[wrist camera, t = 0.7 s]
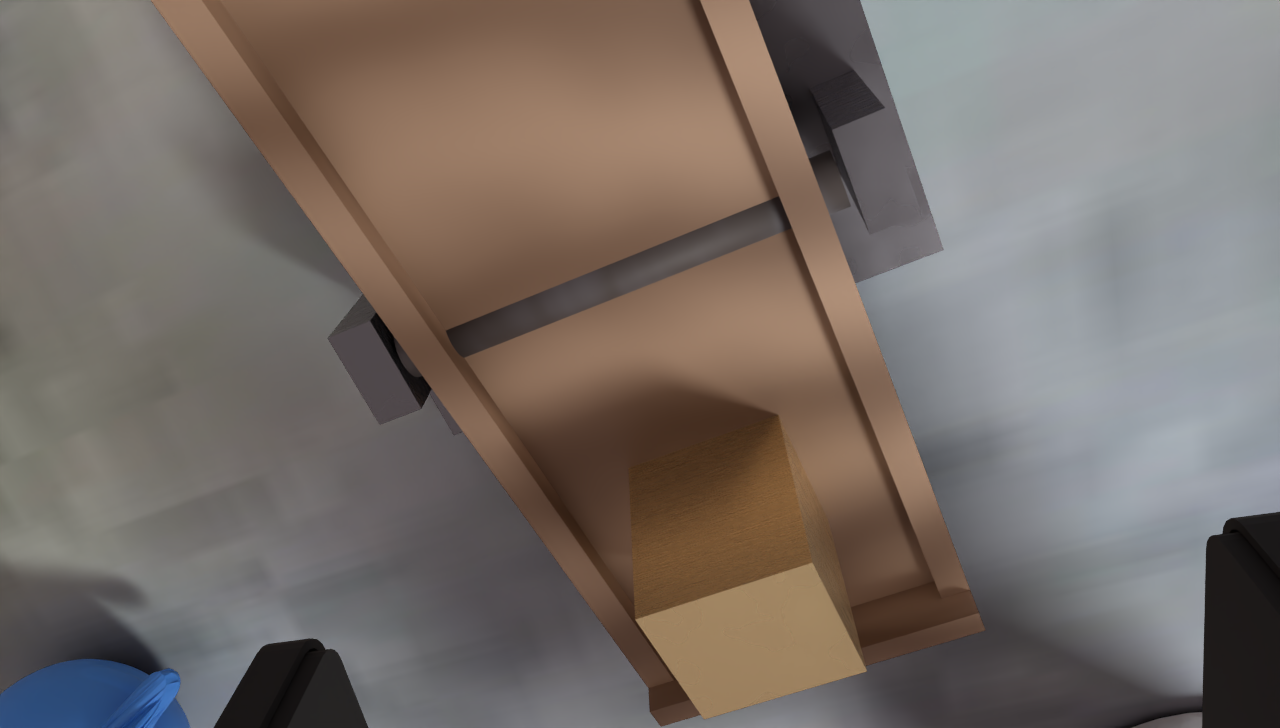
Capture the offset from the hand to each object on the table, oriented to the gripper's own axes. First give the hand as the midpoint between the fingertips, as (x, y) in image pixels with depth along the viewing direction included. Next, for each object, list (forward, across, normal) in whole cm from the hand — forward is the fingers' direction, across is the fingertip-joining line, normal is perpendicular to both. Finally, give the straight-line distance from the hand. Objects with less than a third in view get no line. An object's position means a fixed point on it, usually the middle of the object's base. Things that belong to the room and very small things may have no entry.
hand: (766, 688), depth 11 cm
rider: (+20, +2, +10) cm, 22 cm away
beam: (+19, +3, +1) cm, 19 cm away
